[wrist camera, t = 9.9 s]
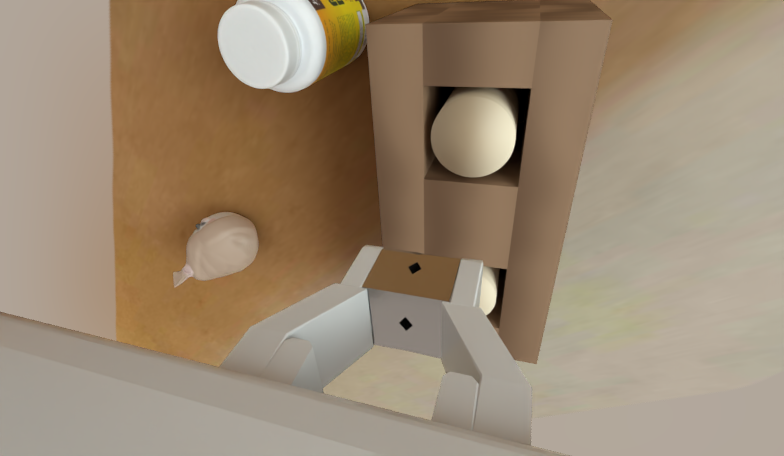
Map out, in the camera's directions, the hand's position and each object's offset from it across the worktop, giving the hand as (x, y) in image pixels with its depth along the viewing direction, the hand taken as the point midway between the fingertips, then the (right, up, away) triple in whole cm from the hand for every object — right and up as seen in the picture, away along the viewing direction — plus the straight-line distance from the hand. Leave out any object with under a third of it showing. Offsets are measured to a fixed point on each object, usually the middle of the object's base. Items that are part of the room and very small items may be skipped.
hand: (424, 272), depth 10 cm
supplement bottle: (-5, +16, +18) cm, 24 cm away
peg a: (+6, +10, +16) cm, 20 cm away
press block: (+6, +7, +20) cm, 22 cm away
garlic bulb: (-16, +1, +32) cm, 36 cm away
